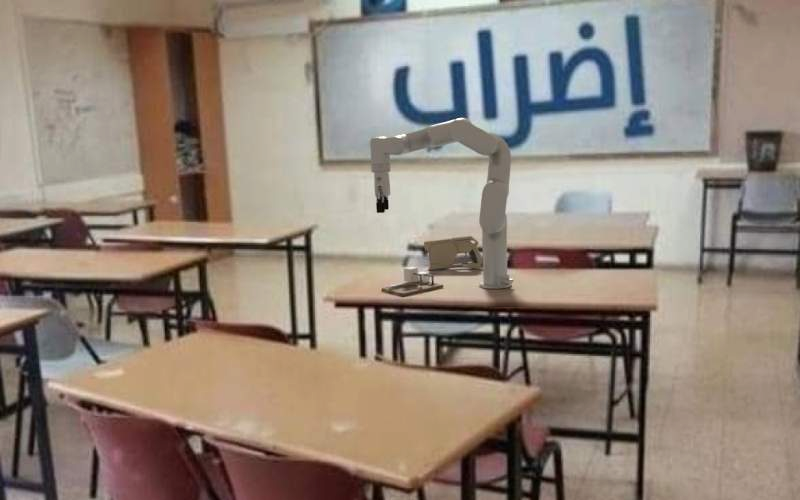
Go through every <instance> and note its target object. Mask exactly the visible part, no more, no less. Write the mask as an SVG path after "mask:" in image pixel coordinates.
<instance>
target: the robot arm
mask: <svg viewBox="0 0 800 500" xmlns="http://www.w3.org/2000/svg"><path fill="white" fill-rule="evenodd" d="M454 143H459V144H460V145H462V146H464V147H466V148H468V149H470V150H471V151H473V152H474V153H477V154H479V155H481V156H484V157H485V156H487V157H488V166H487V178H486V183H485V185H484V186H483V189H482V192H481V200H480V208H479V209H480V211H479V218H478V220H479V221H478V222H479V227H480V228H481V232H482V233H481V235H482V238H481V239H482V240H481V241H482V242H481V244H482V247H481V248H482V278H483V280H482V281H480V282H479V287H480V288H481V289H482V288H483V289H490V290H491V289H492V290H499V289H508V288H510V287H511V286H512V283H514V279H513V278H510V274H508V241H507V240H508V236H507V235H508V218H507V216H508V215H507V214H506V212H507V211H506V210H507V201H508V197H509V194H510V178H511V166H512V154H511V150H510V147H509V145H508V144H507V142H506V140H504V138H502V137H501V136H500V135H498V134H496V133H494V132H491V131H490V132H488V131H485V130H484V129H482V128H481V127H478V126H476V125H475V124H473V123H472V121H470V120H469V118H466V117H459V118H456V119H452V120H447V121H445V122H441V123H436V124H433V125H429V126H427V127H425V128H423V129H419V130H416V131H411V132H408V133H405V134H400V135H399V134H398V135H394V136H389V137H387V136H374V137H372V138H371V139H370V141H369V144H370V146H369V148H370V163H371V166H370V167H371V168H370V169H371V173H373V177H374V178H373V179H374V196H375V197H376V198H375V199H376V200H375V204H376V205H375V207H376V210H375V211H376V213H377V214H379V213H380V214H382V213H383V214H384V213H386V211H387V210H389V207H390V206H389V196H390V195H391V183H390V174H389V173H391V156H401V155H405V154H408V153H412V152H417V151H420V150H424V149H434V148H438V147H442V146H446V145H448V144H449V145H450V144H454ZM385 210H386V211H385Z"/></svg>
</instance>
